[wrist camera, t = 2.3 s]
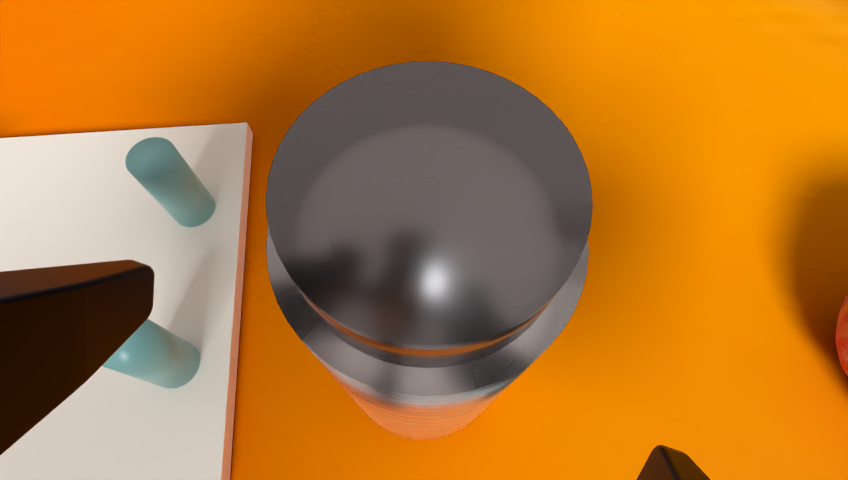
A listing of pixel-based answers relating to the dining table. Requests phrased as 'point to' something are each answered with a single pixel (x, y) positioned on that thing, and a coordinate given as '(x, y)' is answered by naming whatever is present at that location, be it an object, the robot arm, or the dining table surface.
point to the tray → (172, 304)
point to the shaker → (427, 238)
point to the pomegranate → (843, 335)
